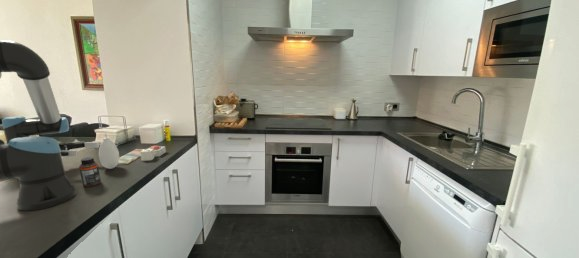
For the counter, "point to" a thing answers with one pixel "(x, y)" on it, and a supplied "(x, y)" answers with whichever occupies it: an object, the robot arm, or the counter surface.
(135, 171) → the counter surface
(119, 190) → the counter surface
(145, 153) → the ivory die
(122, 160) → the track board
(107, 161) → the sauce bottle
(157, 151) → the button housing
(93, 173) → the supplement bottle
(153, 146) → the red button
